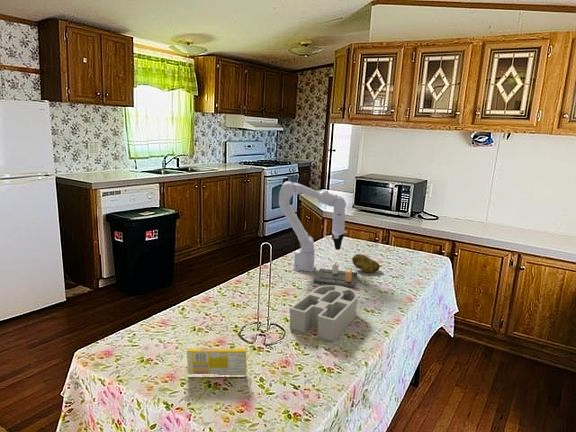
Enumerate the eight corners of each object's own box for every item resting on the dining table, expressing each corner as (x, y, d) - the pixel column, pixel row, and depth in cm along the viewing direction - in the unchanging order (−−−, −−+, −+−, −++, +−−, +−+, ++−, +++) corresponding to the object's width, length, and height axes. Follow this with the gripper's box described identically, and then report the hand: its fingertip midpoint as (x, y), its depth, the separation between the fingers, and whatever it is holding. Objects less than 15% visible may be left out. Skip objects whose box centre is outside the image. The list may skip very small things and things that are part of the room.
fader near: (345, 281, 184) (345, 271, 183) (346, 278, 187) (346, 268, 186) (350, 282, 183) (351, 272, 182) (351, 279, 186) (352, 269, 185)
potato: (375, 276, 196) (376, 259, 195) (349, 270, 202) (350, 255, 201) (380, 270, 203) (381, 255, 202) (355, 266, 210) (356, 250, 208)
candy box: (246, 374, 118) (246, 347, 116) (246, 378, 115) (246, 351, 114) (188, 374, 117) (188, 347, 115) (187, 378, 115) (186, 351, 113)
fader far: (332, 273, 193) (332, 264, 192) (333, 270, 196) (333, 261, 195) (337, 274, 192) (337, 264, 191) (338, 271, 196) (338, 262, 195)
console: (313, 283, 185) (313, 279, 185) (319, 271, 200) (319, 268, 200) (353, 288, 181) (353, 284, 181) (357, 275, 196) (357, 272, 196)
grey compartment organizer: (288, 331, 143) (289, 308, 141) (322, 302, 166) (323, 282, 165) (333, 344, 135) (334, 320, 133) (362, 312, 159) (363, 291, 157)
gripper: (345, 226, 190) (344, 254, 193) (348, 219, 204) (347, 245, 207) (329, 225, 192) (329, 253, 195) (334, 218, 206) (333, 244, 209)
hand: (337, 249), depth 201 cm, fingers closed
